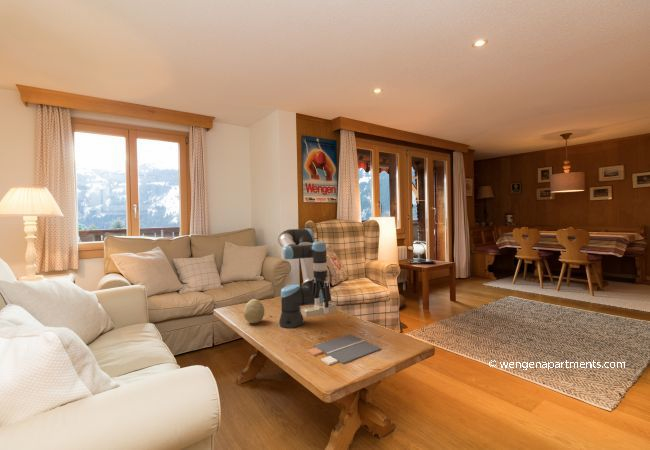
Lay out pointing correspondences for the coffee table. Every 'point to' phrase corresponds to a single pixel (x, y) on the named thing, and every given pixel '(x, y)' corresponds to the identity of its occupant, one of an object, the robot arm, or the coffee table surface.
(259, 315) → the fossilized egg
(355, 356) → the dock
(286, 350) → the coffee table surface
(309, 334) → the coffee table surface
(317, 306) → the electrical outlet
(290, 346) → the coffee table surface
